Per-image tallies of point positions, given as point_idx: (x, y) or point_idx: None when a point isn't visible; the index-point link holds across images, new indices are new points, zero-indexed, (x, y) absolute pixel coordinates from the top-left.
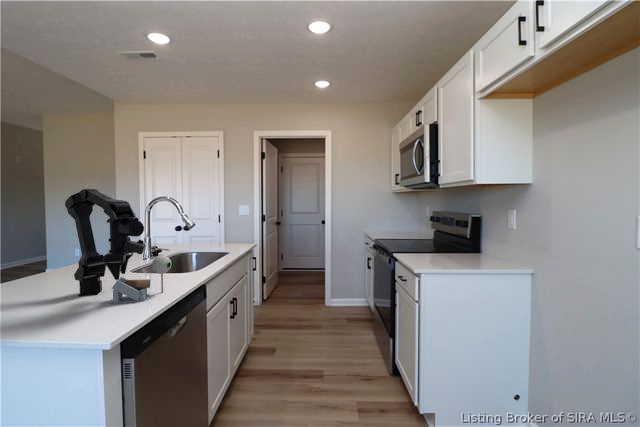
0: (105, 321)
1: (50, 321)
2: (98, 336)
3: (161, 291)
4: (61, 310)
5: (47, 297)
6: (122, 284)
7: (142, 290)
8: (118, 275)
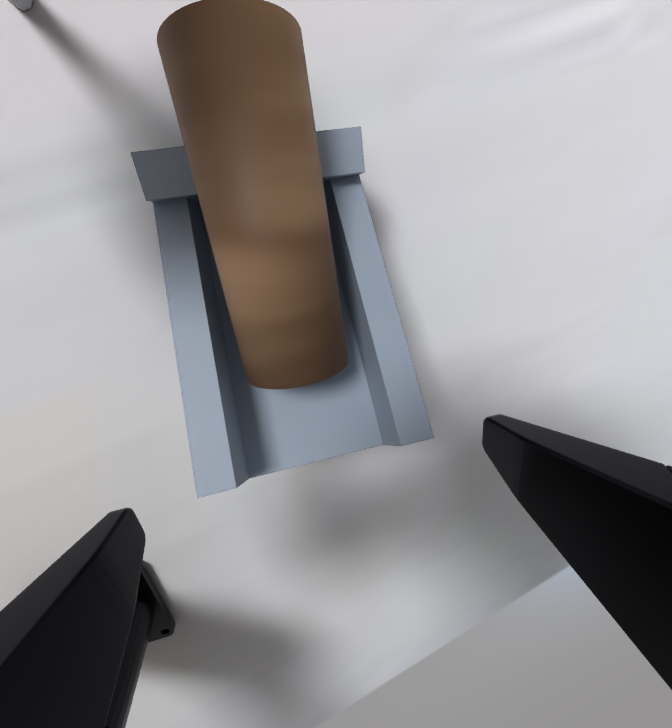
0: (654, 270)
1: None
2: None
3: (14, 2)
4: (406, 549)
5: (184, 716)
6: (409, 365)
7: (361, 142)
8: (565, 441)
